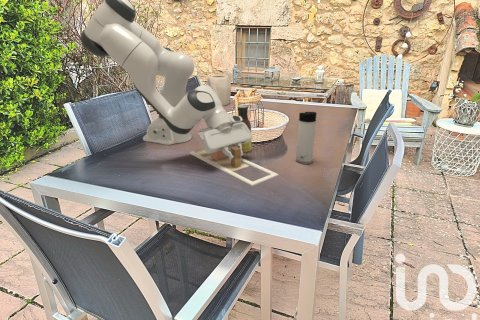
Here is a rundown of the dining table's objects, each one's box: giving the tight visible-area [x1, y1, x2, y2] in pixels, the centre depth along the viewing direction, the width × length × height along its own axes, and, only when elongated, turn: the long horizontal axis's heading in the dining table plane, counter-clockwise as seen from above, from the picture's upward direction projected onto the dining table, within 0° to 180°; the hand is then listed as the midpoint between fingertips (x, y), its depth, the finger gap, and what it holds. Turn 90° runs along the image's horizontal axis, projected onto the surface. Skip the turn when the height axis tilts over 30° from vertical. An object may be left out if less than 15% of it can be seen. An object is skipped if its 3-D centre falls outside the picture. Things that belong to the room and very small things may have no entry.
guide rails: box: [188, 151, 280, 187], centre depth 121 cm, size 38×12×2 cm, turn 40°
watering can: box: [206, 74, 232, 106], centre depth 212 cm, size 16×27×19 cm, turn 156°
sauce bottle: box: [237, 104, 253, 154], centre depth 131 cm, size 7×6×20 cm
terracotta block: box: [211, 150, 226, 160], centre depth 126 cm, size 4×4×4 cm
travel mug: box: [295, 111, 317, 165], centre depth 123 cm, size 6×7×20 cm
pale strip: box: [193, 146, 250, 172], centre depth 124 cm, size 26×8×8 cm, turn 40°
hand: (237, 157), depth 117 cm, fingers closed on pale strip, 2 cm apart
